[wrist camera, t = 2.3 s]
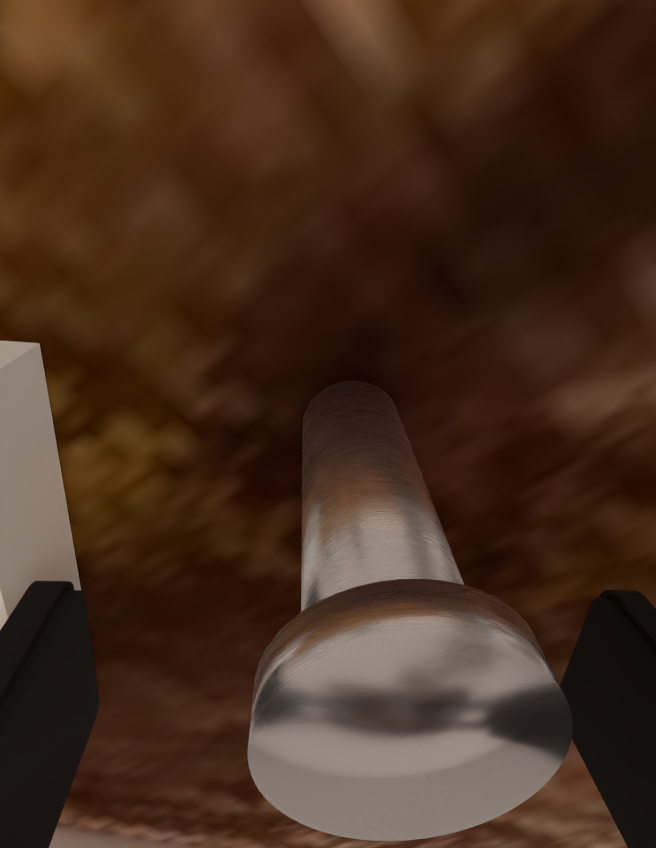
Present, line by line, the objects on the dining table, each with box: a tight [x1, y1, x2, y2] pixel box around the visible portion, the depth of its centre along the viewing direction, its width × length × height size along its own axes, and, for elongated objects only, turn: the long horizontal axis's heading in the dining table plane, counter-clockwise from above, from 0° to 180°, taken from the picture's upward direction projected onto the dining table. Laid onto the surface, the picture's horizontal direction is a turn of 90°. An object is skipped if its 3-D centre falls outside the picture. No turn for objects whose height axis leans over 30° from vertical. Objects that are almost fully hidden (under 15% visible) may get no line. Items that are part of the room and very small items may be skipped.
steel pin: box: [248, 381, 573, 841], centre depth 11 cm, size 4×4×10 cm
